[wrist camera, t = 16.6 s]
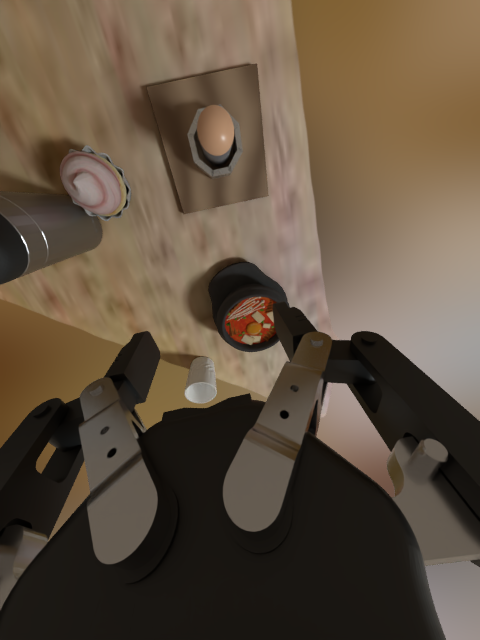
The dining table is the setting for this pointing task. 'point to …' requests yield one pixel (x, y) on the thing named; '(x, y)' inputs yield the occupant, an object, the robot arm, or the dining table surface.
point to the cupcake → (95, 183)
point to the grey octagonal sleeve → (200, 164)
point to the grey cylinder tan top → (215, 134)
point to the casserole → (245, 306)
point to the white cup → (201, 381)
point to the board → (174, 123)
